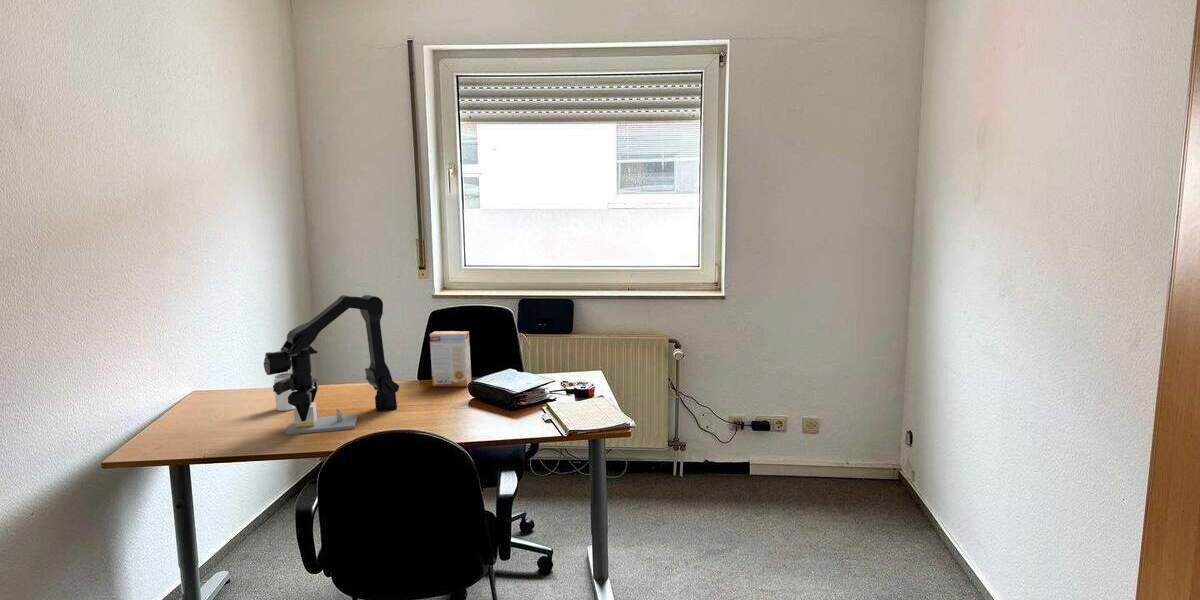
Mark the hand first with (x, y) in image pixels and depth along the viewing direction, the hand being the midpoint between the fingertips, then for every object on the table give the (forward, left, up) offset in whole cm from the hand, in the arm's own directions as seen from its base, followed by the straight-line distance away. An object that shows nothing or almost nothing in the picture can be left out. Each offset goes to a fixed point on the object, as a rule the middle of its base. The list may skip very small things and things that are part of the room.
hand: (306, 416), depth 213 cm
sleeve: (0, 0, -2) cm, 2 cm away
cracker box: (-47, -36, -4) cm, 59 cm away
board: (-5, 0, -4) cm, 6 cm away
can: (+10, -23, -4) cm, 25 cm away
